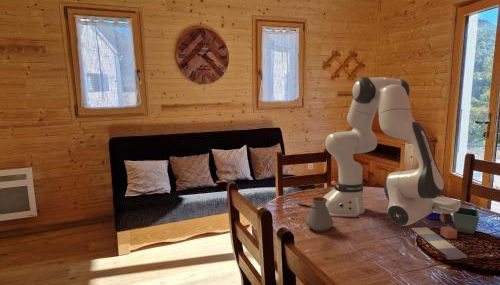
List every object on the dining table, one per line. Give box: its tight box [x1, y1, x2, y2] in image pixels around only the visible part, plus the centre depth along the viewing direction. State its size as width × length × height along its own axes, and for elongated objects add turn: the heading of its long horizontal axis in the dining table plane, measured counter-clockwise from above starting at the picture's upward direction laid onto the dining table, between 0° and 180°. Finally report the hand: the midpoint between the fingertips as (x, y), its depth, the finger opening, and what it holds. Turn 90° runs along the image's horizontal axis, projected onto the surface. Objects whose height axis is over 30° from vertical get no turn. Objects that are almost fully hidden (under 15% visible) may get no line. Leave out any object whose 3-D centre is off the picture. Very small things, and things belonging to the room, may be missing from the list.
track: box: [410, 226, 468, 261], centre depth 128 cm, size 7×24×1 cm, turn 4°
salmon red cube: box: [439, 226, 458, 239], centre depth 132 cm, size 4×4×4 cm
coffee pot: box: [295, 196, 334, 232], centre depth 140 cm, size 21×12×15 cm, turn 135°
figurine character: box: [425, 211, 453, 224], centre depth 149 cm, size 7×8×15 cm
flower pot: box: [452, 206, 480, 235], centre depth 136 cm, size 9×9×9 cm
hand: (435, 196), depth 129 cm, fingers closed on pawn, 4 cm apart
